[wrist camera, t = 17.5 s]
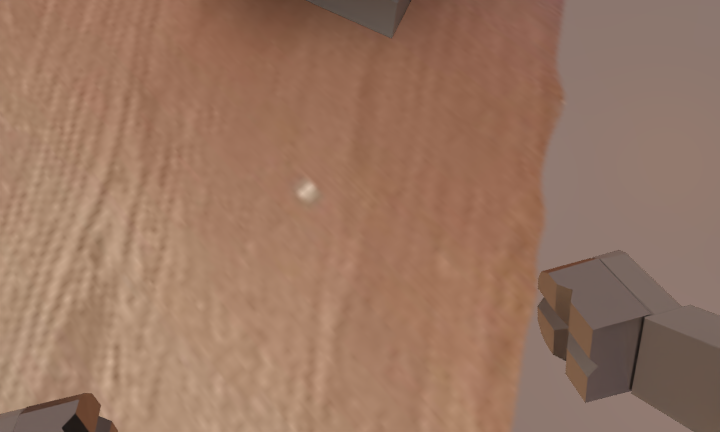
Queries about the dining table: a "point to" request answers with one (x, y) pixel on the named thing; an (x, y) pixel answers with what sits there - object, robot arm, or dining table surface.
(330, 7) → the box
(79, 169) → the dining table surface
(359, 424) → the dining table surface
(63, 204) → the dining table surface
